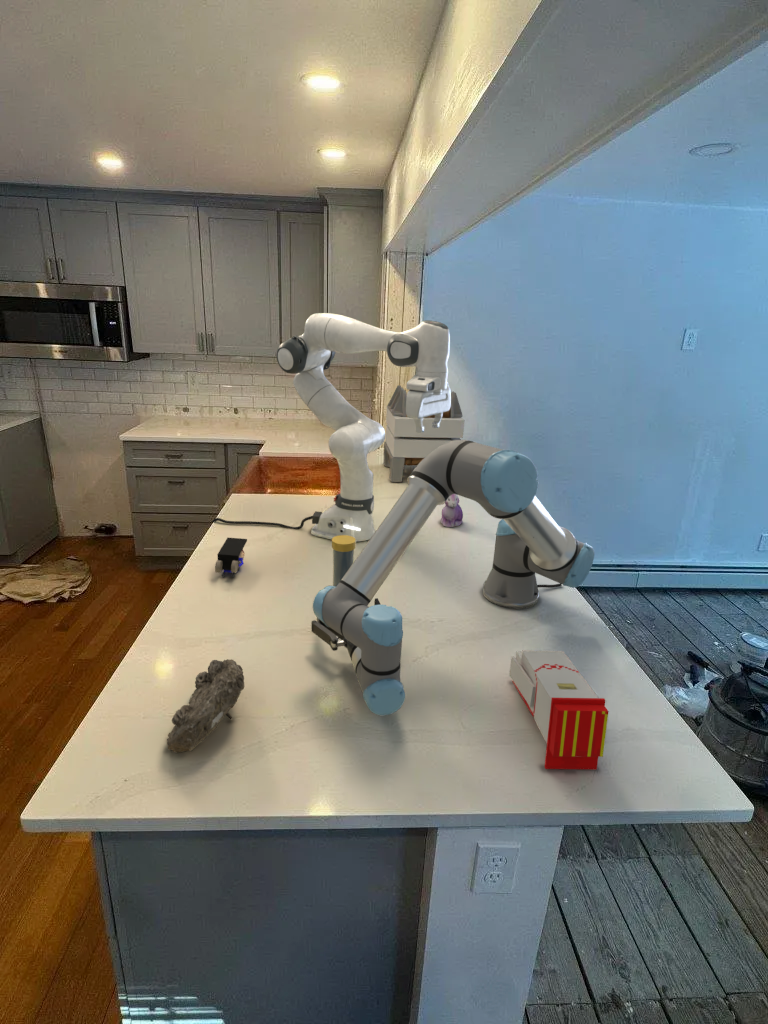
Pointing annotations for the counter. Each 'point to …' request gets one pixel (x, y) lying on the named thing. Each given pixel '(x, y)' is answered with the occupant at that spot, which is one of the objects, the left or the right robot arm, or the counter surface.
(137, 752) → the counter surface
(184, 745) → the fossil
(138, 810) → the counter surface
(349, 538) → the lid
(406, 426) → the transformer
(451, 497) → the figurine
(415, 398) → the left robot arm
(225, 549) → the figurine character
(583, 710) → the toy
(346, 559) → the jar
